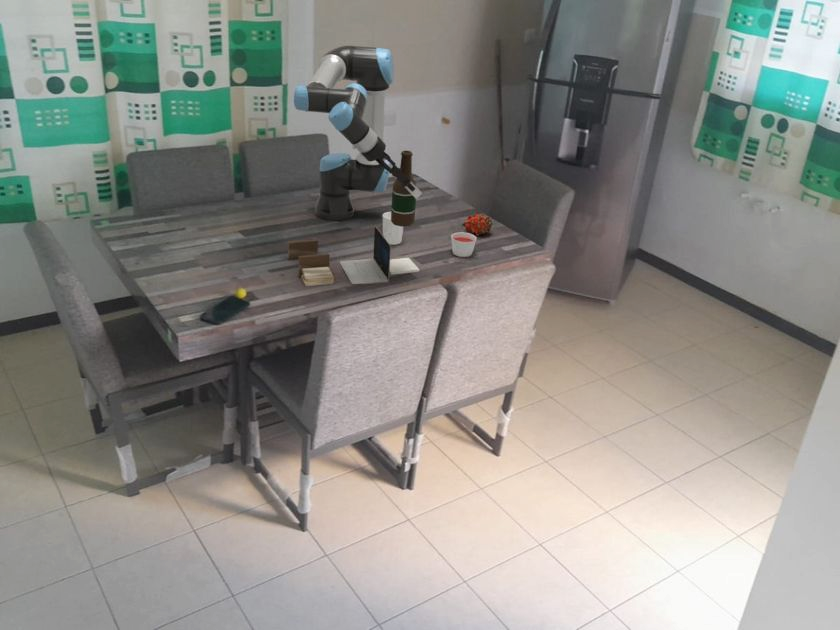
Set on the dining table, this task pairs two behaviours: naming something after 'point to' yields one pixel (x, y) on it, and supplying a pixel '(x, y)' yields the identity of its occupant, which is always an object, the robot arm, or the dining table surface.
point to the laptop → (371, 264)
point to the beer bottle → (403, 195)
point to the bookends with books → (311, 262)
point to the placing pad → (402, 266)
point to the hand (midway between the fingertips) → (414, 191)
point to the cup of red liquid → (463, 244)
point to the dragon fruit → (477, 224)
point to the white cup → (391, 230)
